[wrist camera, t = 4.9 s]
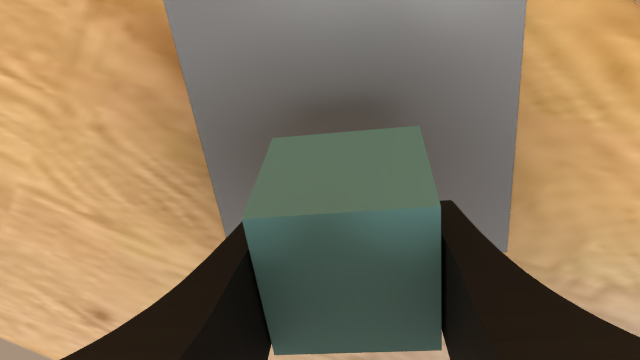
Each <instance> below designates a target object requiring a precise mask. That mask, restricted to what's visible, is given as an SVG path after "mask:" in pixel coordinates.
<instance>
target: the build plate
mask: <svg viewBox="0 0 640 360" xmlns="http://www.w3.org/2000/svg"><path fill="white" fill-rule="evenodd" d="M163 2H164V5H165V9H166V13H167V17H168V20H169V24H170V28H171V32H172V35H173V39H174V43H175V47H176V50H177V54H178V58H179V62H180V65H181V69H182V73H183V77H184V80H185V84H186V88H187V92H188V95H189V99H190V103H191V107H192V110H193V114H194V118H195V122H196V125H197V129H198V133H199V137H200V140H201V144H202V148H203V152H204V155H205V159H206V163H207V167H208V170H209V174H210V178H211V182H212V185H213V189H214V193H215V197H216V200H217V204H218V208H219V212H220V215H221V219H222V223H223V227H224V230H225V234H226V238H227V237H228V236H229V235H230V234H231V233H232V231H233V230H234V229H235V228H236V227H237V226H238V225H239V224H240V223H241V222H242V217H243V214H244V212H245V209H246V206H247V204H248V201H249V198H250V196H251V193H252V191H253V188H254V185H255V183H256V180H257V177H258V175H259V172H260V169H261V167H262V164H263V162H264V159H265V156H266V154H267V151H268V148H269V146H270V143H271V140H272V138H278V137H290V136H302V135H314V134H325V133H337V132H349V131H361V130H373V129H385V128H396V127H408V126H420V130H421V133H422V137H423V141H424V145H425V148H426V152H427V156H428V160H429V164H430V167H431V171H432V175H433V179H434V182H435V186H436V190H437V194H438V197H439V201H443V200H452V201H453V202H454V203H455V204H456V205H457V206H458V207H459V208H460V210H461V211H462V212H463V213H464V214H465V215H466V216H467V218H468V219H469V220H470V221H471V222H472V223H473V224H474V225H475V226H476V227H477V228H478V229H479V230H480V231H481V233H482V234H483V235H484V236H486V237H487V238H488V239H489V240H490V241H491V242H492V243H493V244H494V245H495V246H496V247H497V248H498V249H499V250H500V251H501V252H507V246H508V233H509V220H510V208H511V195H512V182H513V169H514V156H515V143H516V130H517V117H518V105H519V92H520V79H521V66H522V53H523V40H524V27H525V15H526V2H527V0H163Z"/></svg>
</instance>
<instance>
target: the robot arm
mask: <svg viewBox="0 0 640 360" xmlns="http://www.w3.org/2000/svg"><path fill="white" fill-rule="evenodd" d="M440 205H441V328H442V332H443V336H444V339H445V343H446V346H447V350H448V353H449V357H450V360H640V337H638V336H635V335H633V334H631V333H629V332H627V331H625V330H623V329H621V328H619V327H617V326H614V325H612V324H610V323H608V322H606V321H604V320H602V319H600V318H598V317H597V316H595V315H593V314H591V313H589V312H587V311H585V310H584V309H582V308H580V307H578V306H577V305H575V304H573V303H572V302H570V301H568V300H567V299H565V298H563V297H561V296H560V295H558V294H557V293H555V292H554V291H552V290H550V289H549V288H547V287H546V286H545V285H543V284H542V283H540V282H539V281H537V280H536V279H535V278H533V277H532V276H530V275H529V274H528V273H526V272H525V271H524V270H522V269H521V268H520V267H519V266H517V265H516V264H515V263H514V262H513V261H512V260H510V259H509V258H508V257H507V256H506V255H505V254H503V253H502V252H501V251H500V250H499V249H498V248H497V247H496V246H495V245H494V244H493V243H492V242H491V241H490V240H489V239H488V238H487V237H486V236H484V235H483V234H482V233H481V231H480V230H479V229H478V228H477V227H476V226H475V225H474V224H473V223H472V222H471V221H470V220H469V219H468V218H467V216H466V215H465V214H464V213H463V212H462V211H461V210H460V208H459V207H458V206H457V205H456V204H455V203H454V202H453V201H452V200H443V201H440ZM271 344H272V343H271V338H270V334H269V330H268V326H267V322H266V318H265V314H264V309H263V305H262V301H261V297H260V293H259V289H258V285H257V280H256V276H255V272H254V268H253V264H252V260H251V256H250V251H249V247H248V243H247V239H246V235H245V231H244V227H243V223H242V222H241V223H240V224H239V225H238V226H237V227H236V228H235V229H234V230H233V231H232V233H231V234H230V235H229V236H228V237H227V238H226V239H225V240H224V241H223V242H222V243H221V244H220V245H219V246H218V247H217V248H216V249H215V250H214V251H213V252H212V254H211V255H210V256H209V257H208V258H207V259H205V260H204V261H203V262H202V263H201V264H200V265H199V266H198V267H197V268H196V269H195V270H194V271H193V272H192V273H190V274H189V275H188V276H187V277H186V278H185V279H184V280H183V281H182V282H181V283H179V284H178V285H177V286H176V287H175V288H173V289H172V290H171V291H170V292H168V293H167V294H166V295H165V296H163V297H162V298H161V299H159V300H158V301H157V302H155V303H154V304H153V305H151V306H150V307H149V308H147V309H146V310H144V311H143V312H141V313H140V314H138V315H137V316H135V317H134V318H132V319H131V320H129V321H128V322H126V323H125V324H123V325H122V326H120V327H119V328H117V329H115V330H114V331H112V332H110V333H109V334H107V335H105V336H103V337H102V338H100V339H98V340H97V341H95V342H93V343H91V344H89V345H87V346H86V347H84V348H82V349H80V350H78V351H76V352H74V353H72V354H70V355H68V356H67V357H65V358H62V359H60V360H268V356H269V352H270V348H271Z"/></svg>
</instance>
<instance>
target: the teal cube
mask: <svg viewBox="0 0 640 360" xmlns="http://www.w3.org/2000/svg"><path fill="white" fill-rule="evenodd" d="M242 223H243V227H244V231H245V235H246V239H247V243H248V247H249V251H250V256H251V260H252V264H253V268H254V272H255V276H256V280H257V285H258V289H259V293H260V297H261V301H262V305H263V309H264V314H265V318H266V322H267V326H268V330H269V334H270V338H271V343H272V347H273V351H274V355H292V354H327V353H362V352H397V351H433V350H442V334H441V205H440V201H439V197H438V194H437V190H436V186H435V182H434V179H433V175H432V171H431V167H430V164H429V160H428V156H427V152H426V148H425V145H424V141H423V137H422V133H421V130H420V126H408V127H396V128H385V129H373V130H361V131H349V132H337V133H325V134H314V135H302V136H290V137H278V138H272V140H271V143H270V146H269V148H268V151H267V154H266V156H265V159H264V162H263V164H262V167H261V169H260V172H259V175H258V177H257V180H256V183H255V185H254V188H253V191H252V193H251V196H250V198H249V201H248V204H247V206H246V209H245V212H244V214H243V217H242Z"/></svg>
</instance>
